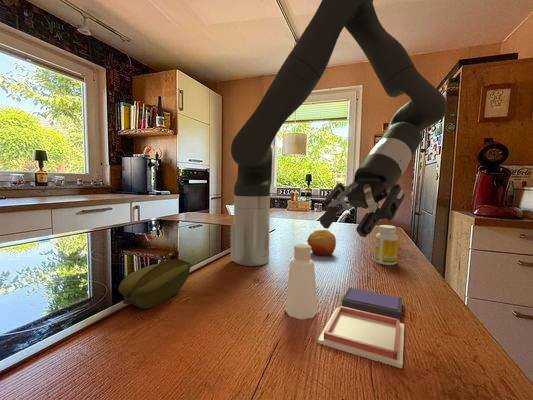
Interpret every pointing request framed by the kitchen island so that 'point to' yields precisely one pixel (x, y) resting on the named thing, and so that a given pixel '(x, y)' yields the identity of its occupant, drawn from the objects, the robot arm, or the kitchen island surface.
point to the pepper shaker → (301, 285)
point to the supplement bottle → (386, 245)
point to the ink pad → (373, 302)
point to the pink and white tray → (365, 335)
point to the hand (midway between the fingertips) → (340, 229)
